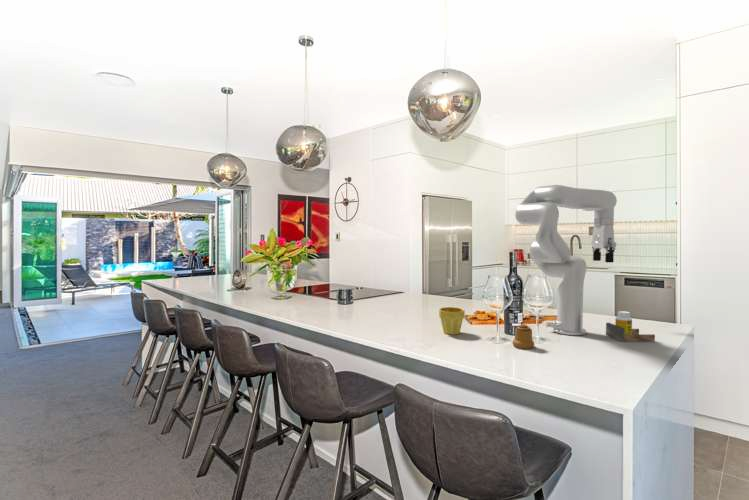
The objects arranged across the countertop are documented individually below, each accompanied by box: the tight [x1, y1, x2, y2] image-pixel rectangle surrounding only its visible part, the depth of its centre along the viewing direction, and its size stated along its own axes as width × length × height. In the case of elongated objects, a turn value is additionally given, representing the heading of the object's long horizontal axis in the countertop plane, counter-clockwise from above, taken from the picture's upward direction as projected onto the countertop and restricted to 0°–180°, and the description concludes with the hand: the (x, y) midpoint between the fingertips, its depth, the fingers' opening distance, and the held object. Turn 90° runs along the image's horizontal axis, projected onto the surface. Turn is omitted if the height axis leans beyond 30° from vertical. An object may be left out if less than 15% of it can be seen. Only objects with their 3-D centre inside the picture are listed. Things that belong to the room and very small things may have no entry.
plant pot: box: [438, 306, 466, 336], centre depth 171 cm, size 10×10×10 cm
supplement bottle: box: [614, 310, 633, 335], centre depth 161 cm, size 6×6×10 cm
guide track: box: [605, 322, 656, 343], centre depth 161 cm, size 13×10×5 cm
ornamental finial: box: [511, 323, 535, 350], centre depth 150 cm, size 8×8×8 cm
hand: (602, 261), depth 182 cm, fingers open, 9 cm apart
